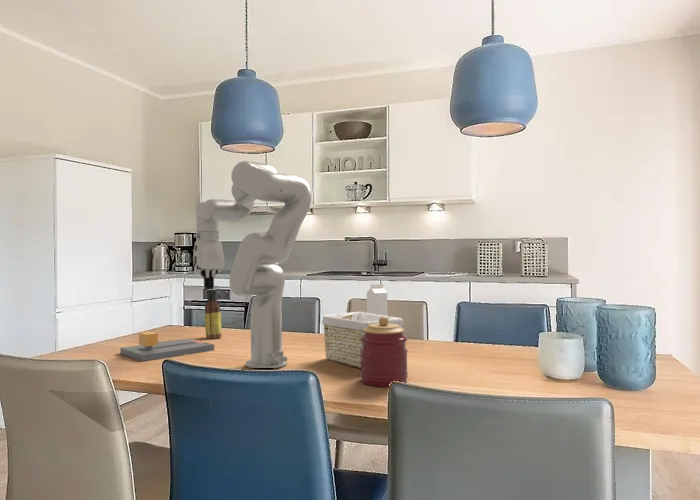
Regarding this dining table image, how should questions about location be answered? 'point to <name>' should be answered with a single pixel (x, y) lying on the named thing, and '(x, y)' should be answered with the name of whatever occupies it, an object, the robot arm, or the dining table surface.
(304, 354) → the dining table surface
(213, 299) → the sauce bottle
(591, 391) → the dining table surface
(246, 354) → the dining table surface
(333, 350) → the storage basket
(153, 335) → the switch knob
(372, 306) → the milk
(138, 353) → the switch board
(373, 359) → the canister
